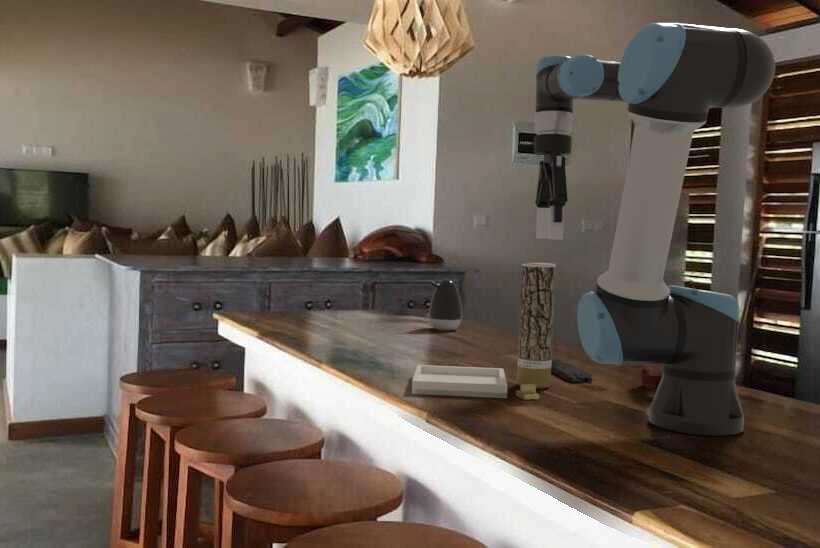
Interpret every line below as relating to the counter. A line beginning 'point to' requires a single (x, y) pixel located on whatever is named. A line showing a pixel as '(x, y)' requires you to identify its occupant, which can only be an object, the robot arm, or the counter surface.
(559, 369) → the wood
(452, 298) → the pump dispenser
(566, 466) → the counter surface
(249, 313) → the counter surface
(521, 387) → the tan short block
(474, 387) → the ceramic dish
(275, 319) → the counter surface
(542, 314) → the paper tube
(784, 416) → the counter surface
